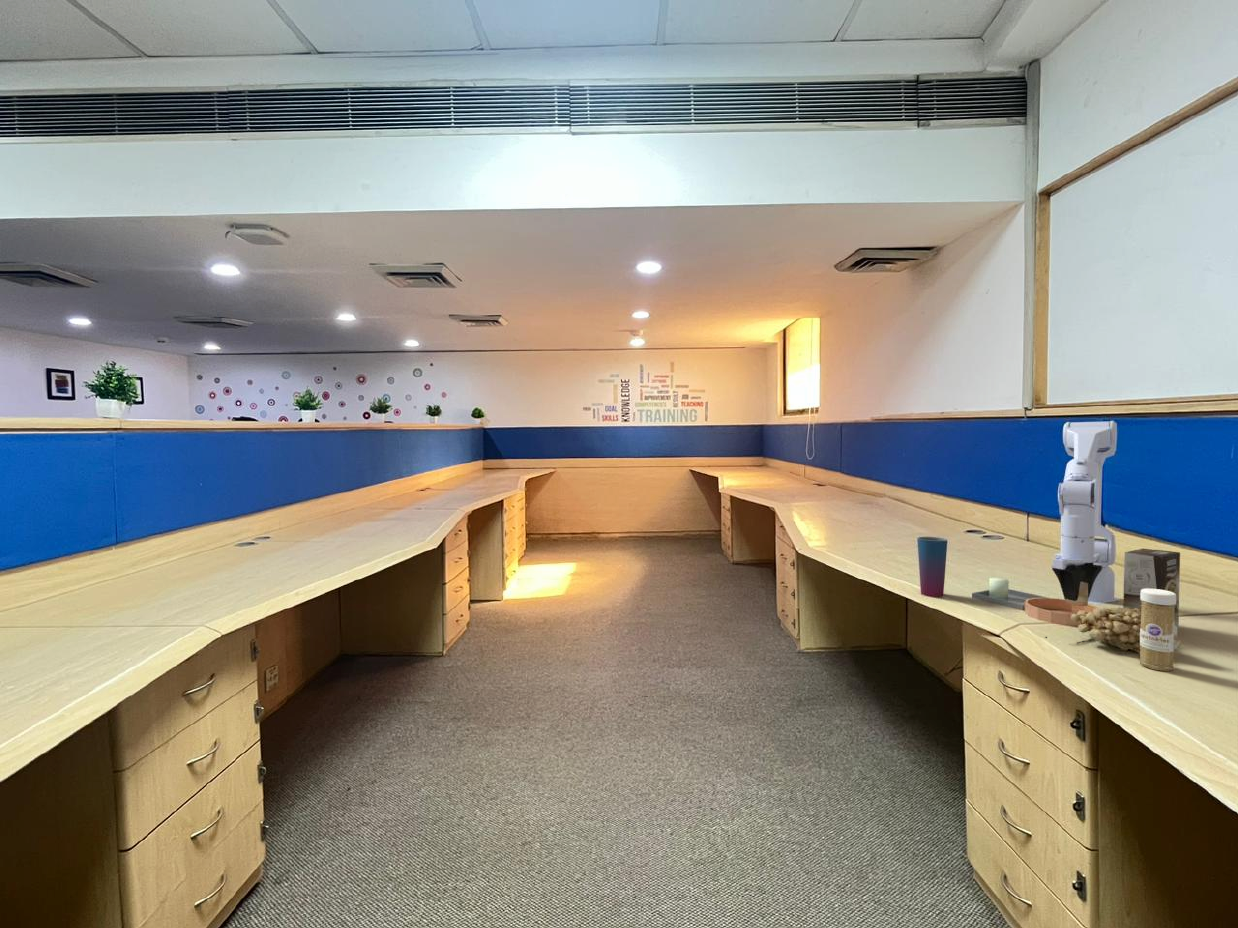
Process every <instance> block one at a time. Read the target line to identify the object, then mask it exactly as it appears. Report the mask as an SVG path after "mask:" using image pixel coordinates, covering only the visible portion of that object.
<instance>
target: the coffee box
mask: <svg viewBox="0 0 1238 928" xmlns="http://www.w3.org/2000/svg"><path fill="white" fill-rule="evenodd" d="M1180 566H1181V552H1179V551H1172V550H1160V549H1150V548H1140V549H1134V550H1129V551H1125V552H1124V565H1123V567H1124V568H1123V599H1122V601H1123V603H1122V604H1123V605H1122V608H1125V607H1127V608H1130V609H1134V608H1137V609H1139V610H1140V611H1141V609H1142V602H1141V599H1140V594H1141V590H1142V589H1146V588H1149V589H1160V590H1166V591H1170V592H1173V593H1175V594H1176V604H1175V615H1174V621H1175V626H1176V627H1177V628H1178V629H1179V625H1180V624H1179V623H1180V621H1179V619H1180V579H1181V578H1180V576H1181V575H1180V573H1181V571H1180V569H1181V567H1180Z"/></svg>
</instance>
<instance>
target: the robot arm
mask: <svg viewBox="0 0 1238 928" xmlns="http://www.w3.org/2000/svg"><path fill="white" fill-rule="evenodd" d="M1117 440H1118V425H1117V422H1115V420H1110V421H1082V422H1081V421H1079V422H1078V421H1077V422H1076V421H1075V422H1073V421H1072V422H1070V421H1067V422H1066V423H1064V425H1063V428H1062V443H1063V445H1064V449H1065V452H1066V453H1067V455H1068V456H1070V457H1073V458H1072V459H1071V460H1069V461H1068V462H1067V464H1066V467H1065V473H1064V478H1063V482H1059V484H1058V490H1057V501H1058V505H1059V515H1060V552H1056V553H1054V557H1055V558H1052V566H1051V570H1052V571H1053V572H1054V574H1055V576H1056V577H1057V579H1058V582H1059V584H1060V589H1061V591H1062V595H1061V597H1063V599H1068V600H1072V601H1077V599H1078V595H1079V588H1080V583H1081V582H1085V583H1088V603H1091V604H1096V605H1101V604H1106V603H1108V602H1113V603H1115V602H1118V601H1120V598H1119V597H1115V582H1116V581H1115V579H1116V578H1115V575H1116V574H1115V572H1114V571H1113V569H1112V567H1110V566H1113V565H1114V564H1115V563H1116V552H1117V551H1116V550H1117V549H1116V548H1117V547H1116V545H1117V543H1116V535H1115V534H1114V532H1113V531H1111V530H1110V529H1108V527H1105V526H1103V525H1102V492H1103V491H1102V488H1103V486H1102V485H1103V482H1102V481H1103V465H1104V464H1105V461H1106V459H1107V458H1110V457H1112V456H1115V454H1116V451H1117V442H1118V441H1117ZM1097 537H1101V538H1097Z"/></svg>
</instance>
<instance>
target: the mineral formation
mask: <svg viewBox="0 0 1238 928" xmlns="http://www.w3.org/2000/svg"><path fill="white" fill-rule="evenodd" d="M1071 620H1073V621H1074V622H1078V621H1080V622H1081V623H1082V624H1081V625H1079V626H1077V628H1078V631H1079V633H1082V634H1084V633H1087V632H1088V636H1089V637H1090V638H1092V639H1093V640H1094V641H1097V642H1099V641H1100V642H1102V643H1103V644H1110V645H1111V646H1113V647H1118V648H1119V649H1120V650H1122V651H1128V650H1129V649H1130V650H1131V651H1134V652H1135V653H1139V654H1140V628H1141V611H1140V610H1139V609H1137V608H1134V609H1130V608H1127V607H1125V608H1123V607H1117V608H1116V607H1109V608H1107V607H1101V608H1098V607H1097V608H1096V609H1094V610H1093V612H1086V611H1081V610H1080V611H1079V612H1078V613H1077V614H1072V615H1071ZM1178 629H1179V627H1178V628H1177V627H1176V626H1175V632H1174V652H1175V651H1177V650H1178V649H1179V647H1180V646H1181V642H1180V639H1178V633H1179V630H1178Z"/></svg>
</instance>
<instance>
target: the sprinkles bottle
mask: <svg viewBox="0 0 1238 928" xmlns="http://www.w3.org/2000/svg"><path fill="white" fill-rule="evenodd" d="M1140 599H1141V602H1142V609H1141V628H1140V653H1139V656H1140V657H1139V660H1138V662H1139V664H1140V665H1142V666H1144V667H1145V668H1148V669H1151V670H1156V671H1163V672H1170V671H1173V670H1175V667H1174V652H1175V651H1174V632H1175V621H1174V615H1175V604H1176V594H1175V593H1173V592H1170V591H1166V590H1160V589H1149V588H1146V589H1142V590H1141V594H1140Z"/></svg>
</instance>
